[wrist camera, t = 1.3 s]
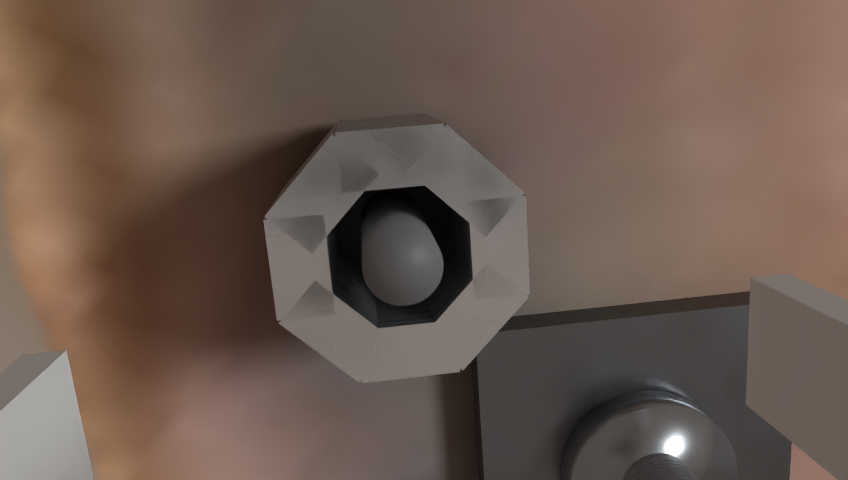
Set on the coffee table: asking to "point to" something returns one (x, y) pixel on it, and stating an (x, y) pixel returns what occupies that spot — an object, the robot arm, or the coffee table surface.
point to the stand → (396, 242)
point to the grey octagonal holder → (342, 276)
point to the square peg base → (624, 396)
